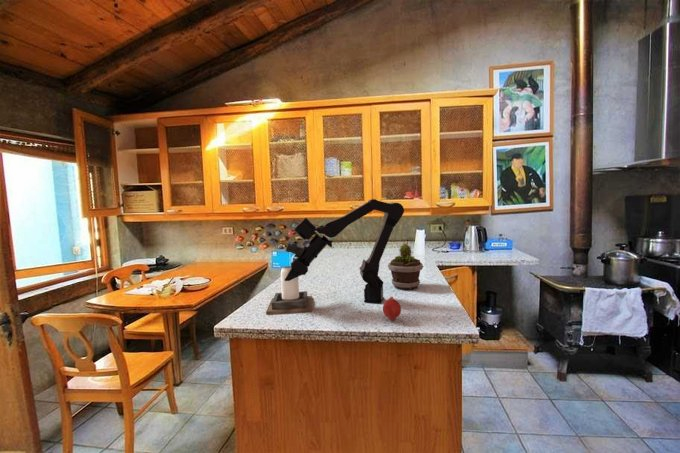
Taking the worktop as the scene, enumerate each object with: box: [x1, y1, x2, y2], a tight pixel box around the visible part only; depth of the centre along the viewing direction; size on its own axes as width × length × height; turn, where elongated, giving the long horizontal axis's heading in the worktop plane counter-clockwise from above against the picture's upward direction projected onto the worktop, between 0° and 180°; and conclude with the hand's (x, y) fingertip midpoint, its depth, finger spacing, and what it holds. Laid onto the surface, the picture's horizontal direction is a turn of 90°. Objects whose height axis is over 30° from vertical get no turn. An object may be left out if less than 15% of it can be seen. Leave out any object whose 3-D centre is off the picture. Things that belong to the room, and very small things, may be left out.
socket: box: [265, 290, 313, 315], centre depth 125 cm, size 16×16×4 cm
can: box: [280, 265, 300, 300], centre depth 124 cm, size 6×6×12 cm
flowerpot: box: [387, 242, 424, 291], centre depth 144 cm, size 14×15×20 cm
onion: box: [382, 296, 402, 322], centre depth 106 cm, size 6×6×8 cm
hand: (286, 279), depth 124 cm, fingers closed on can, 6 cm apart
